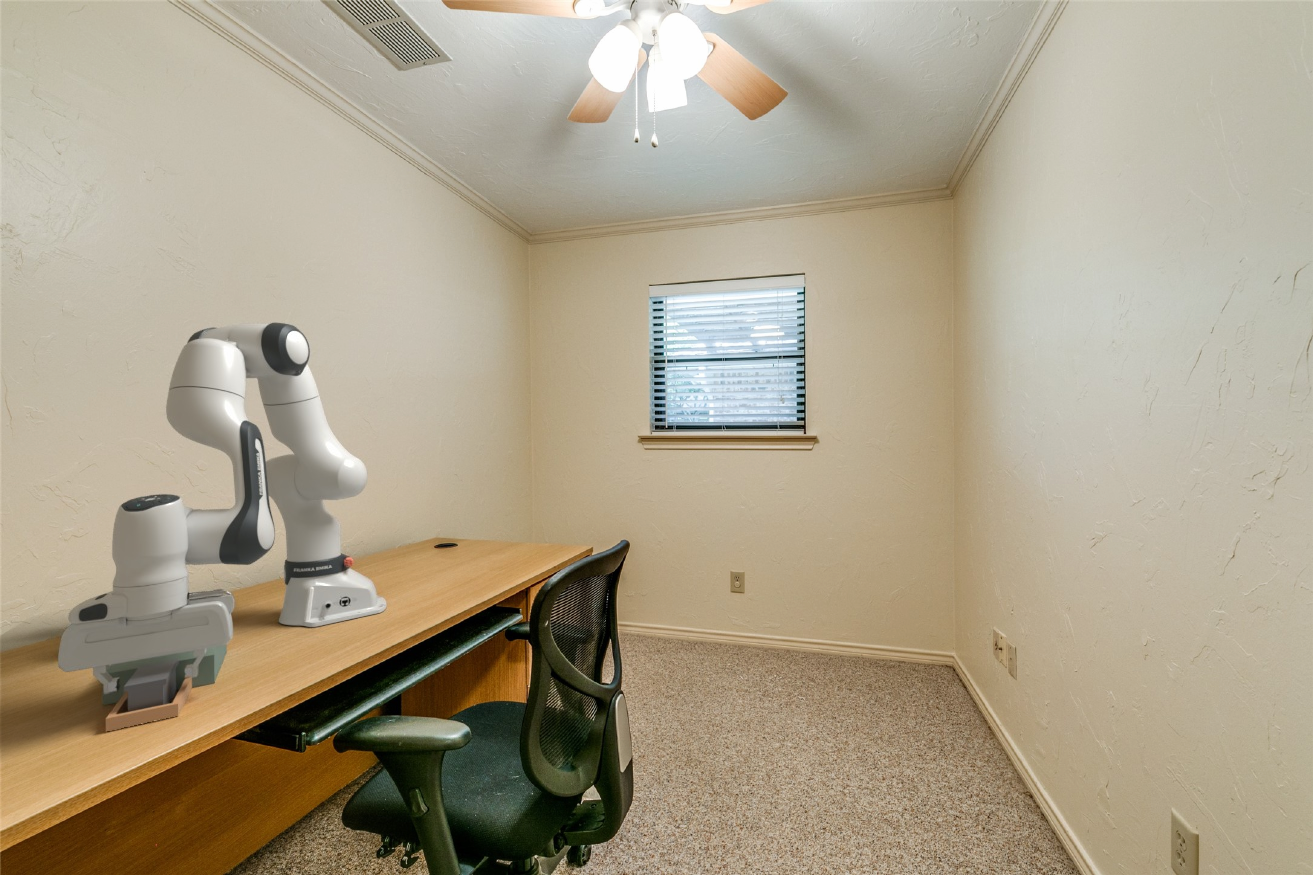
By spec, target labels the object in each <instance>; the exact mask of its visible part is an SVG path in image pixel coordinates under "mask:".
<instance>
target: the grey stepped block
mask: <svg viewBox="0 0 1313 875" xmlns="http://www.w3.org/2000/svg"><path fill="white" fill-rule="evenodd" d="M178 664H179V659H173V660H167V661H162V662H156V663H150V664H145V665H140V666H139V667H138V669H137V670H136V671H135V673H134V674H133V675H132V677H131V678H130V679H129V681H128V682H127V683H126V685H125V686H124V692H127V691H128V710H127V712H131V711H136V710H141V709H145V708H150V707H155V706H160V705H165V704H170V702H171V703H172V702H173V700H174V698H175V696H176V694H177V691H176V667H177V665H178Z"/></svg>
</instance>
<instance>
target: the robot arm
mask: <svg viewBox="0 0 1313 875" xmlns="http://www.w3.org/2000/svg"><path fill="white" fill-rule="evenodd" d="M310 353H311V351H310V344H309V341H308V339H307V337H306V336H305V334H304V333H303V332H302V331H301V330H300V329H298V328H297V327H296V326H295V325H293V324H288V323H285V322H284V323H283V322H270V323H266V322H265V323H262V322H261V323H259V322H257V323H255V322H251V323H250V322H249V323H245V322H243V323H239V324H235V325H226V326H221V327H214V326H213V327H208V328H204V329H200V330H197V332H196V331H195V333H193V334H192V335H191V336H189V339H188V340H187V343H186V344H185V345H184V346H183V347H182V349H181V351H180V353H179V355H178V358H177V360H176V362H175V365H174V369H173V371H172V374H171V379H170V383H169V386H168V392H167V398H166V404H165V405H166V406H165V412H166V418H167V419H166V420H167V421H168V423H169V424H170V426H171V427H172V428H173V430H175V431H176V432H177V433H178V434H180V435H181V436H182V437H184V438H186V439H188V440H190V441H192V442H195V443H197V444H201V445H204V446H205V447H206V446H207V447H210V448H213V449H215V450H219V451H221V452H223V453H224V454H226V456H228V458H229V460H230V461H231V464H232V470H233V486H234V488H233V489H234V499H235V502H234V505H233V506H232V507H231V508H221V509H220V508H217V509H215V508H214V509H210V508H209V509H200V508H199V509H198V508H196V509H194V508H192V507H187V506H185V504H184V501H183V499H182V497H181V496H179V495H175V494H170V493H169V494H168V493H167V494H166V493H162V494H161V493H160V494H150V495H145V496H139V497H134V498H132V499H128V500H126V501H124V502H123V503H121V504H120V505H119V507H118V508H117V511H116V515H115V517H114V523H113V529H112V530H113V531H112V539H111V540H112V547H111V548H112V550H111V554H112V555H111V556H112V560H113V562H114V564H115V575H114V577H113V581H112V590H111V591H109V592H106V593H102V594H100V595H97V596H93V597H90V598H89V599H86V600H84V601H82V602H80V603H78V604H77V605H75V606H74V607H73V608H72V609H71V610H70V611H69V612H68V615H67V616H68V622H69V623H70V625H71V624H72V625H71V626H70V625H69V626H67V627H66V629H65V630H64V631H63V633H62V635H61V637H60V643H59V648H58V655H57V657H58V658H57V659H58V660H57V664H58V665H57V666H58V668H59V669H61V671H63V672H65V673H70V672H76V671H82V670H89V669H92V676H93V677H95V679H96V680H98V681H99V683H101V685H102V684H104V694H109V693H113V692H118V690H119V689H120V684H119V682H120V677H118V678H112V676H111V675H110V674H109V673H108V672H107V670H108V668H109V667H110V665H113V664H119V663H124V662H130V661H136V660H142V659H148V658H154V657H159V656H165V655H171V654H177V653H183V652H189V651H194V657H196V656H198V657H197V658H196V660H195V662H194V663H193V664H190V665H187V666H186V668H185V679H187V678H192V677H197V675H198V665H199V663H200V662H201V660H202V658H203V657H204V655H205V653H206V651H207V648H212V647H218V646H223V645H226V644H228V643H229V642H230V641H231V640H232V639H233V637H234V624H233V618H232V613H233V612H234V610H235V605H236V602H235V601H236V599H235V596H234V594H233V593H232V592H230V591H227V590H224V589H213V590H209V591H206V590H205V591H195V592H194V591H193V592H189V591H190V590H189V587H190V586H189V585H190V584H189V570H188V568H187V566H189V565H192V566H193V565H194V566H195V565H196V566H197V565H198V566H199V565H200V566H201V565H219V564H222V565H235V566H236V565H237V566H240V565H241V566H244V565H245V566H248V565H252V564H254V563H255V562H257V561H258V560H260V559H261V558H263V557H264V556H265V555H267V553H268V552H269V551H270V550H271V549H272V548H273V546H274V544H275V538H276V530H275V523H274V519H273V518H274V517H273V514H272V509H271V505H270V498H271V499H272V500H273V502H274V503H275V504H276V507H277V509H278V511H279V513H280V515H281V518H282V521H283V524H284V530H285V540H286V544H285V545H286V559H285V561H284V565H283V582H284V584H285V592H284V598H283V603H282V608H281V612H280V616H279V617H278V618H279V619H278V622H279V623H280V624H282V625H286V626H304V627H308V628H316V627H321V626H324V625H325V626H326V625H329V624H335V623H338V622H339V623H340V622H343V621H347V620H352V619H357V618H362V617H366V616H371V615H376V614H379V613H380V614H381V613H382V612H384V611H385V610H386V609H387V606H388V605H387V601H386V599H385V598H384V597H382V596H379V595H378V594H377V589H376V586H375V584H374V582H373V581H372V579H370V578H369V577H367V576H365V575H363V574H362V573H360V572H358V571H356V570H354V569H352V568H351V567H352V566H353V565H354V562H355V561H354V559H353V558H352V557H351V556H349V555H348V554H344V553H342V528H341V527H342V526H341V523H340V521H339V520H338V519H337V517H335V516H333V515H332V514H331V513H330V512H329V511H328V509H327V508H326V506H325V503H324V501H326V500H327V501H338V500H343V499H349V498H353V497H356V496H358V495H360V493H362V492H363V490H364V489H365V487H366V485H367V483H368V469H367V467H366V465H365V463H364V462H363V461H362V460H361V459H360V458H358V457H357V456H355V455H354V454H352V453H351V452H349V451H348V450H347V449H346V448H345V447H344V446H343V445H342V443H341V442H340V441H339V439H337V437H336V435H335V434H334V433H333V431H332V429H331V427H330V425H329V423H328V420H327V416H326V413H325V411H324V410H325V409H324V406H323V403H322V400H321V397H320V393H319V389H318V386H317V385H318V384H317V383H316V380H315V378H314V375H313V373H312V371H311V368H310V366H309V364H308V362H309V359H310ZM247 379H257V384H258V390H259V394H260V399H261V402H262V405H263V406H262V407H263V408H264V413H265V415H266V419H267V421H268V425H269V429H270V432H271V434H272V436H273V437H274V439H275V440H277V442H280V443H281V444H283V445H285V446H286V447H287V448H288V449H289V450H290V451H291V452H292V453H290V454H284V455H280V456H275V457H271V458H269V459H267V460H266V454H265V445H264V444H265V443H264V440H263V439H264V438H263V436H262V433H261V431H260V428H259V427H258V426H257V425H256V424H255V423H253V422H250V420H249V418H248V417H247V413H246V409H245V407H246V406H245V402H246V393H247Z"/></svg>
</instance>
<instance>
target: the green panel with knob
mask: <svg viewBox="0 0 1313 875" xmlns="http://www.w3.org/2000/svg"><path fill="white" fill-rule="evenodd" d="M227 644H228V643H227ZM227 644H226V645H223V646H218V647H212V648H207V651H206V653H205V655H204V657H203V658H202V660H201V662H200V663H199V665H198V675H197V677H192V678H187V679H185V668H186V666H187V665H190V664H193V663H194V662H195V660H196V658H197V657H198V656H196V657H194V651H189V652H183V653H177V654H171V655H165V656H159V657H154V658H148V659H142V660H136V661H130V662H124V663H119V664H113V665H110V667H109V668H108V670H107V672H108V673H109V674H110V675H111V676H112V678H118V677H120V682H119V684H120V689H119V690H118V692H113V693H109V694H104V684H102V683H101V685H102V706H107V705H112V704H115V706H114V707H113V708H112V709H111V711H110V712H109V714H108V715H107V716H106V717H105V733H108V732H107V731H110V732H113V731H112V730H115V731H118V730H117V729H119V730H121V729H120V728H124V727H128V728H131V727H130V726H133V725H137V726H139V725H138V724H141V723H147V722H151V723H153V722H152V721H154V720H159V719H165V720H167V719H166V718H169V717H174V718H176V717H175V716H178V715H179V716H180V714H181V712H180V711H182V710H183V708H184V705H185V703H186V701H187V700H188V697H189V695H190V692H191V690H192V688H197V687H202V686H207V685H211V684H215V683H216V681H217V678H218V676H219V674H220V670H221V668H222V665H223V663H224V660H225V657H226V655H227V654H228V653H227V652H228V651H227V649H228V648H227V646H228V645H227ZM173 659H179V664H178V665H177V667H176V694H175V696H174V698H173V700H172V702H171V703H170V704H165V705H160V706H155V707H150V708H145V709H141V710H136V711H131V712H128V691H127V692H124V686H125V685H126V683H127V682H128V681H129V679H130V678H131V677H132V675H133V674H134V673H135V671H136V670H137V669H138V667H139V666H140V665H145V664H150V663H156V662H162V661H167V660H173ZM182 707H183V708H182ZM181 709H182V710H181ZM179 713H180V714H179ZM179 716H178V717H179ZM169 719H170V718H169ZM147 724H148V723H147ZM133 727H134V726H133ZM124 729H125V728H124Z"/></svg>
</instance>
